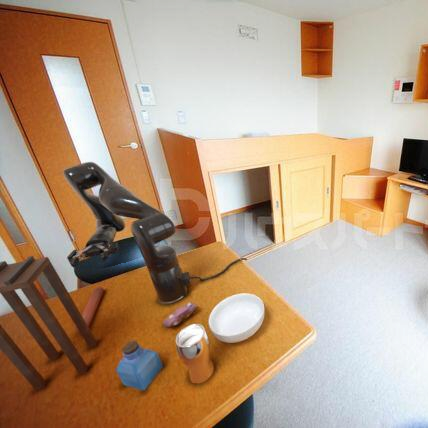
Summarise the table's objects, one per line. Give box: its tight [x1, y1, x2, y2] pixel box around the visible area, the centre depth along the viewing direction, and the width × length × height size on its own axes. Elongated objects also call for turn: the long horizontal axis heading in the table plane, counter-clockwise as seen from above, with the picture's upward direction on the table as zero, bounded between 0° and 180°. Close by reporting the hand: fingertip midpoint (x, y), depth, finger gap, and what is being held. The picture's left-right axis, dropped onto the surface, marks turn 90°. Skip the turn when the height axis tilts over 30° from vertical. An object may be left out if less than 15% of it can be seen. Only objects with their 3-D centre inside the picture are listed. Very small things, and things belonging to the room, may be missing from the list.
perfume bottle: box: [115, 340, 164, 391], centre depth 62 cm, size 6×6×12 cm
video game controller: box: [162, 302, 198, 328], centre depth 80 cm, size 10×5×7 cm, turn 148°
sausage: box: [74, 286, 105, 334], centre depth 83 cm, size 21×3×3 cm, turn 27°
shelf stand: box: [0, 255, 98, 391], centre depth 60 cm, size 10×10×33 cm
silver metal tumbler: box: [175, 323, 215, 384], centre depth 62 cm, size 7×7×15 cm
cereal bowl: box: [208, 292, 265, 344], centre depth 77 cm, size 17×17×7 cm
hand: (88, 262), depth 87 cm, fingers open, 8 cm apart
